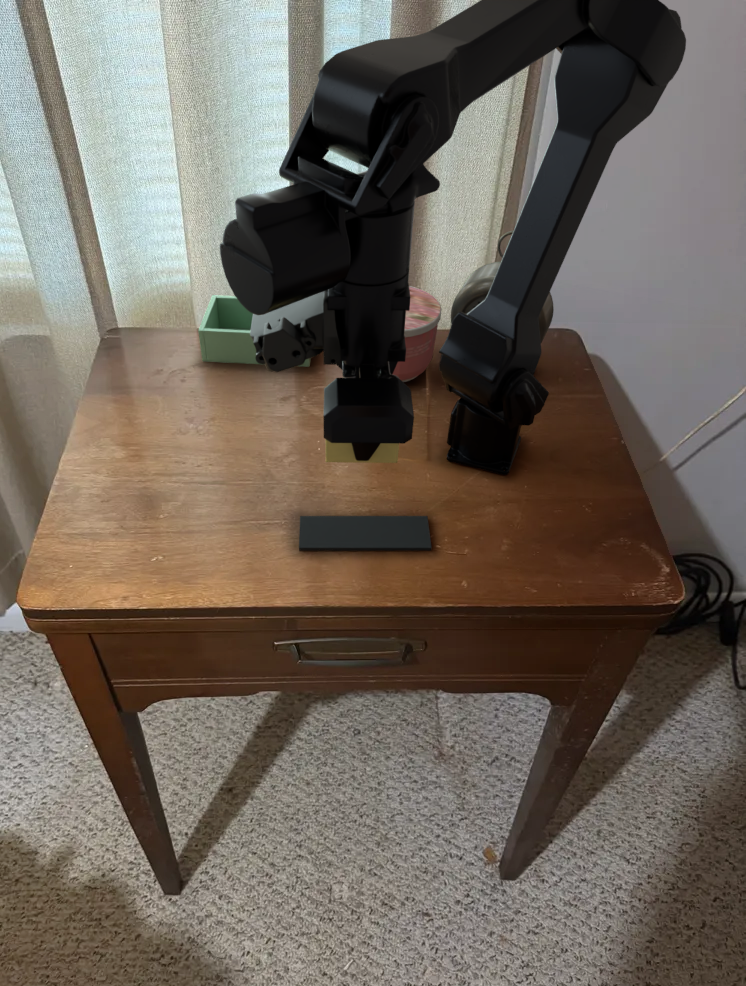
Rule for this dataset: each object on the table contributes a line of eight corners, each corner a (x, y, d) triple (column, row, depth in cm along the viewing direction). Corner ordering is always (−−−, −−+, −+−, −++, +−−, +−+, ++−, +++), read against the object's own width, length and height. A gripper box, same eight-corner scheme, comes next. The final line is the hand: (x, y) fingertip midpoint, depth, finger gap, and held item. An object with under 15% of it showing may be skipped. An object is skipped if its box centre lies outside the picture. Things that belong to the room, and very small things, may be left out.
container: (414, 403, 84) (421, 339, 79) (330, 379, 88) (330, 316, 82) (447, 357, 91) (455, 295, 85) (367, 337, 94) (370, 276, 88)
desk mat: (427, 518, 71) (427, 515, 71) (431, 550, 68) (431, 547, 68) (300, 518, 71) (300, 515, 71) (298, 550, 68) (298, 547, 68)
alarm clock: (541, 365, 90) (573, 230, 78) (530, 389, 87) (561, 251, 75) (454, 344, 93) (472, 212, 82) (440, 366, 90) (456, 231, 78)
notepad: (326, 433, 66) (326, 406, 64) (395, 433, 66) (397, 407, 64) (325, 462, 63) (325, 435, 61) (397, 463, 63) (399, 436, 61)
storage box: (316, 333, 95) (315, 299, 92) (309, 370, 89) (308, 335, 86) (216, 328, 95) (212, 294, 92) (202, 364, 89) (197, 330, 86)
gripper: (262, 211, 59) (273, 380, 70) (241, 335, 46) (258, 519, 57) (404, 212, 59) (392, 381, 71) (423, 337, 46) (404, 520, 57)
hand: (361, 443), depth 64 cm, fingers closed on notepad, 4 cm apart
